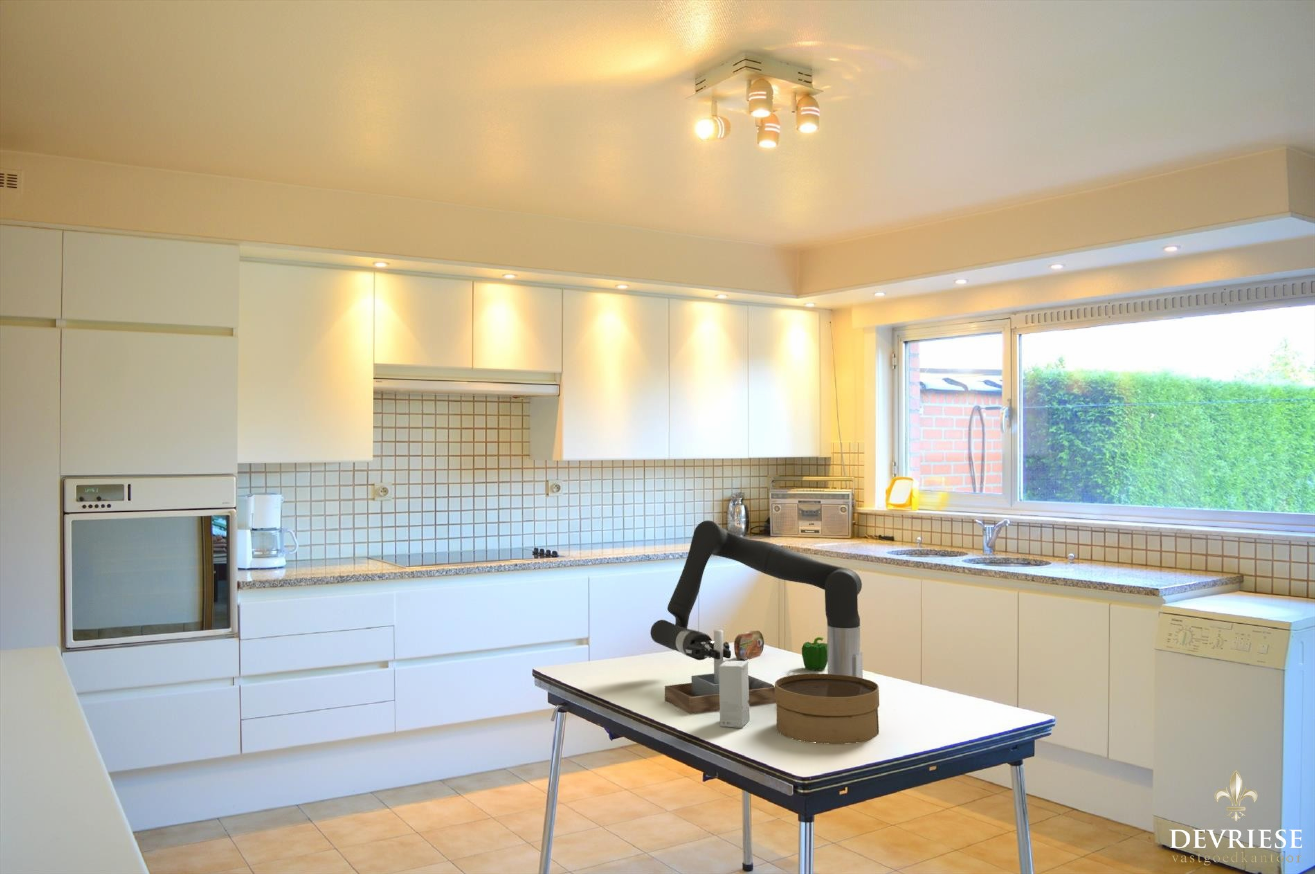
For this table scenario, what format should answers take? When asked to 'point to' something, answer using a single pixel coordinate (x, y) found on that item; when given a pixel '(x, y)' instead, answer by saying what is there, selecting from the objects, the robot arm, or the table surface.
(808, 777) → the table surface
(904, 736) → the table surface
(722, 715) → the skincare box
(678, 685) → the bay
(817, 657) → the bell pepper
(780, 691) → the steamer basket
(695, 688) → the tray with upright post
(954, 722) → the table surface
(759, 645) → the tin
